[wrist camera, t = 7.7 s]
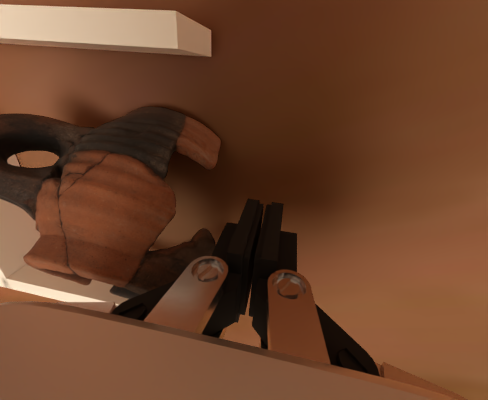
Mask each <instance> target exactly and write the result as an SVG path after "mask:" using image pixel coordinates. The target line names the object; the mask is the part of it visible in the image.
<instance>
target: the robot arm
mask: <svg viewBox="0 0 488 400" xmlns="http://www.w3.org/2000/svg"><path fill="white" fill-rule="evenodd" d="M259 203H260V201H259V200H252V199H248V200H247V203H246V205H245V208H244V210H243V213H242V215H241V217H240V220H239V222H238V224H233V223H227V224H226V226H225V228H224V230H223V232H222V234H221V236H220V238H219V240H218V242H217V244H216V246H215V248H214V251H213V253H212V255H211V256H203V257H199V258H197V259H195V260H194V261H192V262H191V263H190V264H189V266H188V267H187V268H186V269H185V270H184V272H183V273H182V274H181V275H180V277H179V278H178V279H177V280H175V281H173V282H170V283H168V284H165V285H163V286H160V287H158V288H156V289H153V290H151V291H148V292H146V293H143V294H141V295H138V296H136V297H133V298H131V299H128V300H126V301H124V302H122V303H121V304H120V305H116V304H115V302H58V303H47V302H33V301H31V302H7V303H0V400H467V399H465V398H464V397H462V396H460V395H458V394H456V393H454V392H452V391H449V390H447V389H445V388H442V387H440V386H438V385H435V384H433V383H431V382H428V381H426V380H424V379H422V378H419V377H417V376H415V375H412V374H410V373H408V372H405V371H403V370H401V369H399V368H396V367H394V366H392V365H389V364H387V363H385V362H383V364H382V365H380V364H378V363H375V362H374V361H373V359H372V358H371V357H370V355H369V354H368V353H367V352H366V351H365V350H364V349H363V348H362V347H361V346H360V345H359V344H358V343H357V342H355V341H354V340H353V339H352V338H351V337H350V336H349V335H348V334H347V333H346V332H345V331H344V330H343V329H342V328H341V327H340V326H339V325H337V324H336V323H335V322H334V321H333V320H332V319H331V318H330V317H329V316H328V315H327V314H326V313H325V312H324V311H323V310H322V309H320V308H319V307H318V306H317V305H316V304H315V301H314V298H313V294H312V290H311V286H310V284H309V282H308V281H307V279H306V278H305V277H304V276H302V275H301V274H299V273H297V234H296V233H291V232H284V231H281V222H282V212H283V204H281V203H274V202H272V204H271V205H267V206H266V211H265V215H264V219H263V223H262V215H263V204H259ZM261 224H262V228H261ZM251 285H252V287H251ZM250 289H251V298H250V308H249V316H251V317H253V321H252V326H253V328H254V329H255V330H256V332H257V333H258V335H259V336H260V340H259V348H258V347H254V346H250V345H245V344H241V343H237V342H232V341H228V340H224V339H223V337H224V335H225V332H226V327H227V326H229V325H231V324H233V323H234V322H237V323H238V320H239V316H240V314H242V315H245V312H246V307H247V303H248V298H249V294H250Z"/></svg>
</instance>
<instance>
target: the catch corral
mask: <svg viewBox="0 0 488 400" xmlns="http://www.w3.org/2000/svg"><path fill="white" fill-rule="evenodd" d="M0 43H2V44H18V45H34V46H49V47H65V48H81V49H96V50H112V51H128V52H143V53H159V54H175V55H190V56H206V57H211V30H210V29H208V28H206V27H204V26H203V25H201V24H199V23H197V22H195V21H194V20H192V19H190V18H188V17H186V16H185V15H183V14H181V13H179V12H177V11H170V10H143V9H115V8H87V7H59V6H32V5H4V4H0ZM7 162H8V164H11V165H14V166H19V167H20V165H19V163H18V160H17V157H16V155H15V154H14V155H12V156H11V157H9V158H8V160H7ZM35 227H36V221H35V220H33V219H32V218H31V217H30V216H29V214H27V213H26V212H25V211H24V210H23V209H21V208H20V207H18V206H16V205H14V204H12V203H9V202H7V201H4V200H2V199H0V286H2V287H6V288H10V289H14V290H18V291H23V292H27V293H31V294H35V295H40V296H44V297H48V298H52V299H56V300H61V301H65V302H115V304H116V305H120V304H121V303H122V302H124V301H126V300H128V299H127V298H123V297H120V296H117V295H113V294H111V293H110V289H111V288H112V287H113V285H111V284H107V283H103V282H100V281H96V280H92V281H91V283H90V284H89V285H82V284H79V283H76V282H74V281H71V280H66V279H63V278H61V277H57V276H53V275H51V274H48V273H45V272H42V271H40V270H37V269H34V268H32V267H31V266H29V265H27V264H26V263H25V262H24V260H23V257H24V256H25V255H26V254H27V253H28V252H29V251H30V250H31V249H32V247H33V246H34V244H35V243H36V242H37V240H38V239H39V238H40V232H38V231H37V230H36V228H35Z"/></svg>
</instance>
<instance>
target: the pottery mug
mask: <svg viewBox="0 0 488 400" xmlns="http://www.w3.org/2000/svg"><path fill="white" fill-rule="evenodd" d="M220 145H221V141H220V139H219V137H218V136H216V135H215V134H214V133H213V132H212V131H211V130H210V129H209V128H207V127H206V126H204V125H203V124H202V123H200V122H198V121H196V120H194V119H192V118H190V117H187V116H185V115H184V114H182V113H179V112H176V111H173V110H169V109H167V108H161V107H141V108H138V109H136V110H134V111H132V112H130V113H128V114H126V115H125V116H123V117H120V118H118V119H115V120H113V121H111V122H109V123H105V124H103V125H101V126H99V127H97V128H96V129H95V128H93V127H79V126H76V125H72V124H70V123H67V122H64V121H60V120H57V119H53V118H49V117H44V116H39V115H32V114H1V115H0V199H2V200H4V201H7V202H9V203H12V204H14V205H16V206H18V207H20V208H21V209H23V210H24V211H25V212H26V213H27V214H29V216H30V217H31V218H32V219H33V220H35V221H36V227H35V228H36V230H37V231H38V232H40V238H39V239H38V240H37V242H36V243H35V244H34V246H33V247H32V249H31V250H30V251H29V252H28V253H27V254H26V255H25V256H24V257H23V260H24V262H25V263H26V264H27V265H29V266H31V267H32V268H34V269H37V270H40V271H42V272H45V273H48V274H51V275H53V276H57V277H61V278H63V279H66V280H71V281H74V282H76V283H79V284H82V285H89V284H90V283H91V281H92V280H96V281H100V282H103V283H107V284H111V285H113V287H112V288H111V289H110V293H111V294H113V295H117V296H120V297H123V298H127V299H131V298H133V297H136V296H138V295H141V294H143V293H146V292H148V291H151V290H153V289H156V288H158V287H160V286H163V285H165V284H168V283H170V282H173V281H175V280H177V279H178V278H179V277H180V275H181V274H182V273H183V272H184V270H185V269H186V268H187V267H188V266H189V264H190V263H191V262H192V261H194V260H195V259H197V258H199V257H203V256H211V254H212V253H213V251H214V248H215V246H216V245H215V241H214V239H213V237H212V235H211V233H210V231H208V230H207V229H205V228H203V229H201V230H199V231H198V232H197V233H196V234H195V235H194V237H193V238H192V239H191V241H188V242H184V243H182V244H180V245H177V246H174V247H171V248H168V249H160V250H155V251H149V248H150V247H151V246H152V245H153V244H154V242H155V241H156V239H157V237H158V236H159V235H160V234H161V232H162V231H163V230H164V228H165V227H166V226H167V224H168V223H169V222H170V221H171V220H172V219H173V217H174V216H175V213H176V211H175V207H176V199H175V194H174V192H173V191H172V190H171V188H170V187H169V186H168V184H166V183H165V182H164V178H165V177H166V174H167V171H168V164H169V161H170V158H171V155H172V154H173V152H174V151H177V152H179V153H180V154H183V155H186V156H188V157H189V158H190V159H193V160H194V161H196V162H197V163H199V164H200V165H202V166H203V167H204V168H206V169H208V170H210V169H212V168H214V167H215V165H216V163H217V161H218V152H219V149H220ZM37 150H38V151H49V152H52V153H54V154H56V155H57V156H59V159H58V161H57V162H56V163H55V164H54V165H53V166H48V167H42V168H26V167H19V166H14V165H11V164H8V162H7V160H8V158H9V157H11V156H12V155H14V154H17V153H21V152H24V151H37Z"/></svg>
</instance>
